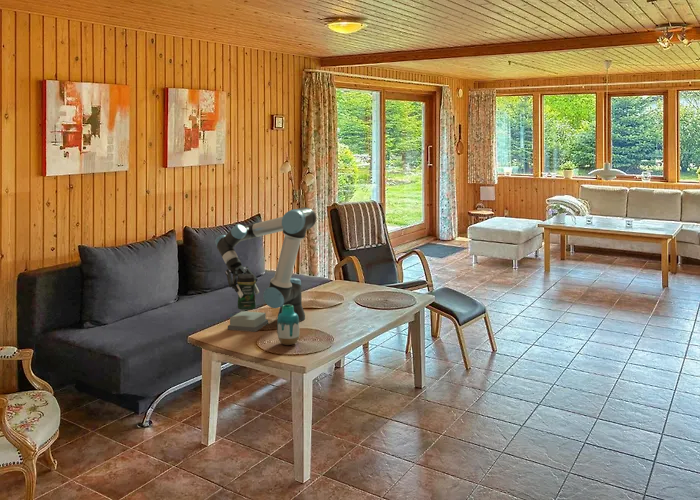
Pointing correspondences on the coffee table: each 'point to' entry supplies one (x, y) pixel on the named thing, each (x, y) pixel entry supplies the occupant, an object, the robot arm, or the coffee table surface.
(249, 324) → the podium
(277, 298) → the robot arm
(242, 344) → the coffee table surface
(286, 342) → the vase
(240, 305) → the coffee jar
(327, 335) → the coffee table surface
